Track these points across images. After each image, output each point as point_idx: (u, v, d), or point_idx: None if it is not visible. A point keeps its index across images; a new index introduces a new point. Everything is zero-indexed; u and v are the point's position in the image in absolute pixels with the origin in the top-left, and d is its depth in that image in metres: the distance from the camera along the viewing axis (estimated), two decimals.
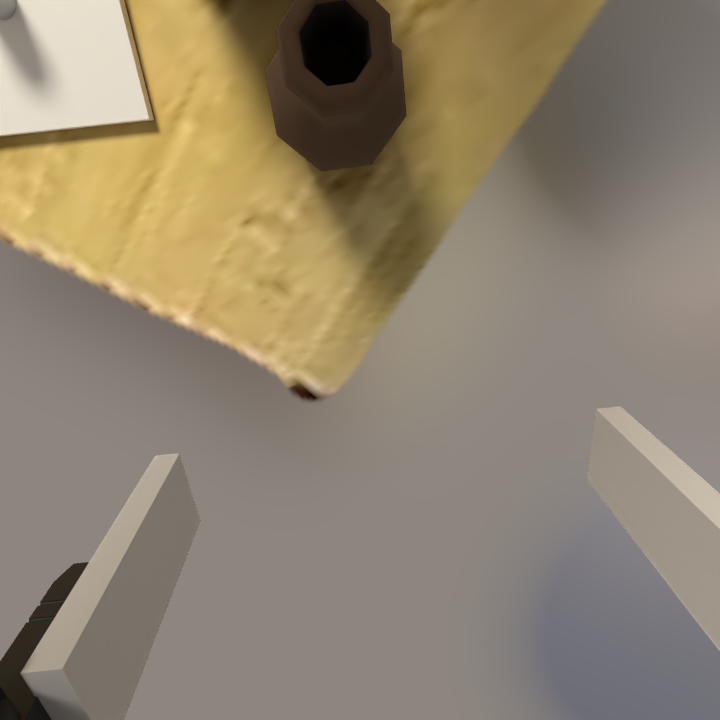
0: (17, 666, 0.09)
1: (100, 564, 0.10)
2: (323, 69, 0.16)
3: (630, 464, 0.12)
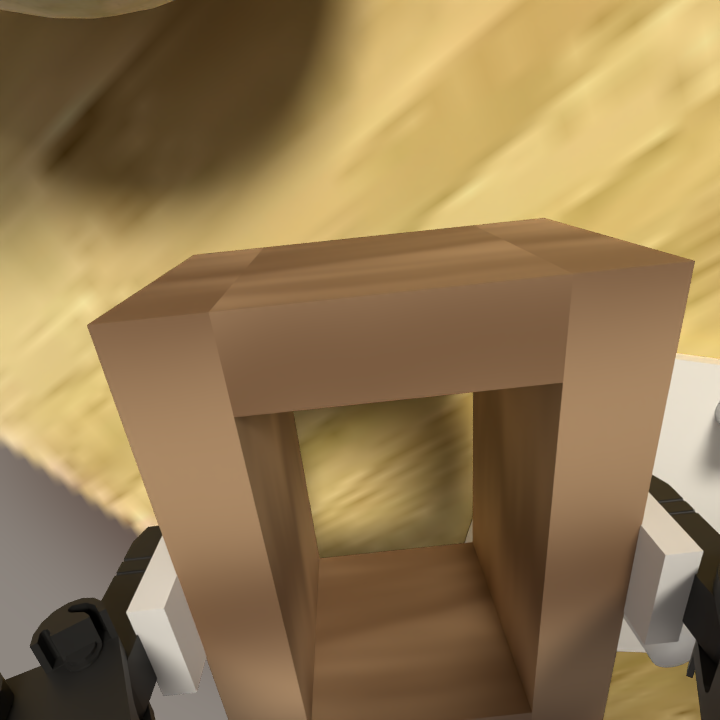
0: (114, 610, 0.10)
1: None
2: None
3: None
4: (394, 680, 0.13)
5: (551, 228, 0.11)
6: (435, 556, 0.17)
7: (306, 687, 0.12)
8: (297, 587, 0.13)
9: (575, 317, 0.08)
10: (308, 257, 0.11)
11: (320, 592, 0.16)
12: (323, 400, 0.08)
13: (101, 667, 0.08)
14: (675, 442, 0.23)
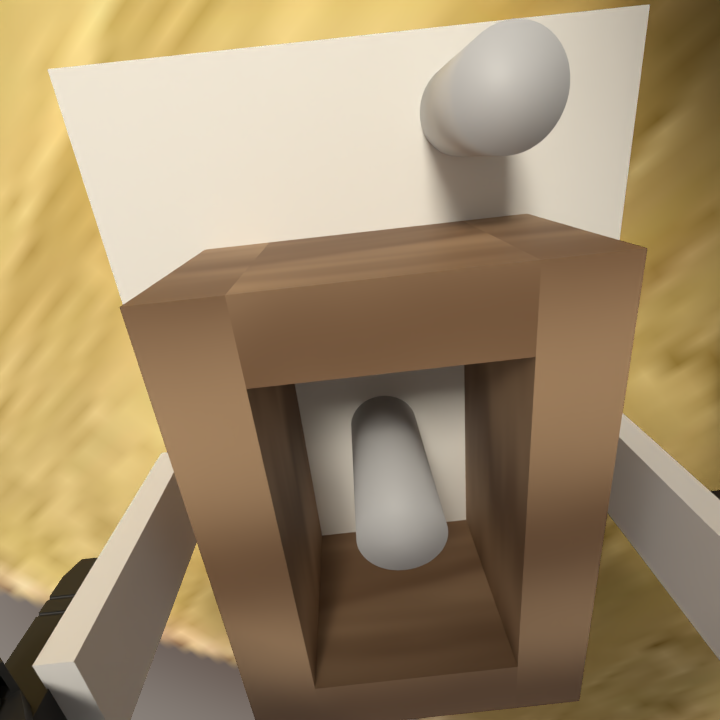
0: (28, 658, 0.09)
1: (109, 559, 0.10)
2: None
3: (622, 462, 0.13)
4: (391, 641, 0.15)
5: (531, 222, 0.13)
6: None
7: (310, 644, 0.14)
8: (302, 554, 0.14)
9: (544, 297, 0.09)
10: (310, 250, 0.12)
11: (323, 565, 0.18)
12: (324, 373, 0.09)
13: None
14: (384, 206, 0.14)
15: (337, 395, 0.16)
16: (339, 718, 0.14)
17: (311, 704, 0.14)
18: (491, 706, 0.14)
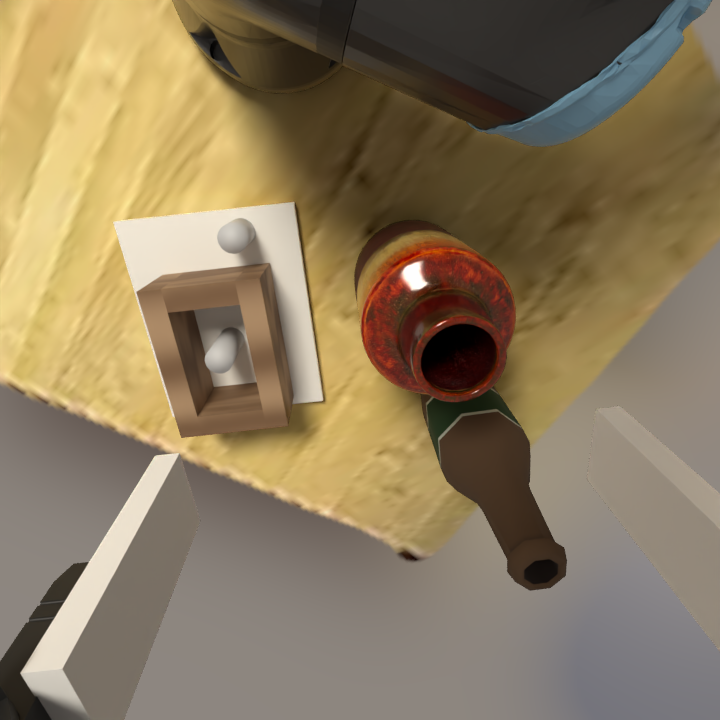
0: (17, 666, 0.09)
1: (100, 564, 0.10)
2: None
3: (630, 464, 0.12)
4: (226, 407, 0.43)
5: (261, 267, 0.41)
6: (255, 384, 0.47)
7: (196, 403, 0.42)
8: (194, 375, 0.42)
9: (238, 289, 0.37)
10: (192, 276, 0.40)
11: (211, 394, 0.46)
12: (186, 308, 0.38)
13: None
14: (221, 260, 0.42)
15: (213, 326, 0.45)
16: (207, 430, 0.42)
17: (197, 424, 0.42)
18: (258, 427, 0.42)
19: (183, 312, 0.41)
